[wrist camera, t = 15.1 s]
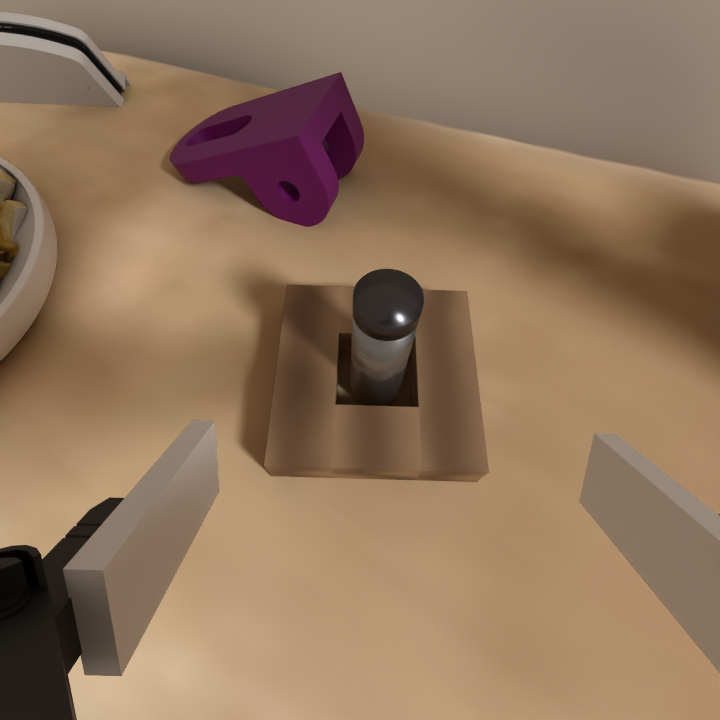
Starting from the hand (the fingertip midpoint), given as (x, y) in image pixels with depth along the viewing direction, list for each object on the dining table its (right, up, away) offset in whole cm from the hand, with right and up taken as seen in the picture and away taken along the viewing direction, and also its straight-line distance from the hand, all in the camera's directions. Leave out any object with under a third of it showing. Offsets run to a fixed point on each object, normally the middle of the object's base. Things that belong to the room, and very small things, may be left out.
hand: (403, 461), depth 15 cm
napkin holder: (-38, +35, +36) cm, 63 cm away
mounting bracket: (-12, +23, +31) cm, 40 cm away
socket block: (0, +2, +20) cm, 20 cm away
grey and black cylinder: (0, +1, +20) cm, 20 cm away
